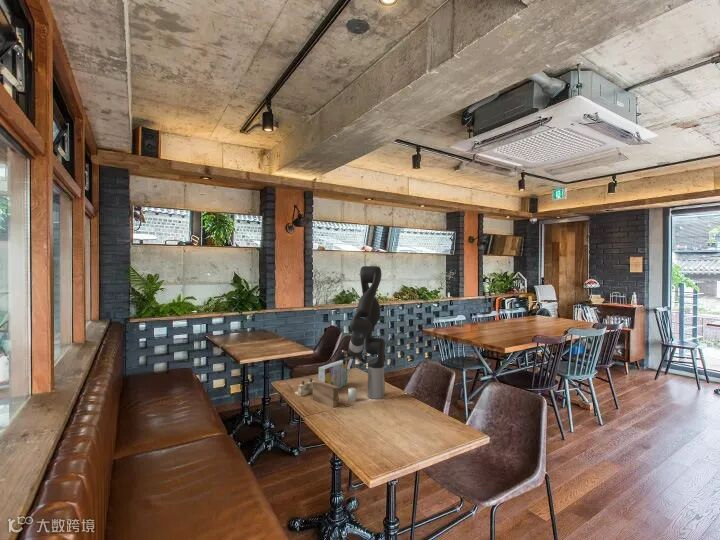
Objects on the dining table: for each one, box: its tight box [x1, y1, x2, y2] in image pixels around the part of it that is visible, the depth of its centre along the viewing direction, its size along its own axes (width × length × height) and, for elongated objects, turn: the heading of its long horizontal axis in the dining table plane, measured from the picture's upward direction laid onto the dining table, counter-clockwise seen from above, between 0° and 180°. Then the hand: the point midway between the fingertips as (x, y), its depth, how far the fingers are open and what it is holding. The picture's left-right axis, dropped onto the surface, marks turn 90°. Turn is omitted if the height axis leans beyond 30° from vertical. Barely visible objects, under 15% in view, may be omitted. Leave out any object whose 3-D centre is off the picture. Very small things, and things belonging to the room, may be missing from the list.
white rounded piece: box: [347, 387, 358, 402], centre depth 209 cm, size 5×5×6 cm
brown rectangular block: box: [312, 380, 340, 408], centre depth 205 cm, size 4×16×10 cm, turn 49°
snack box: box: [318, 359, 348, 389], centre depth 227 cm, size 21×6×15 cm, turn 144°
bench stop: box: [294, 377, 315, 397], centre depth 219 cm, size 11×6×8 cm, turn 139°
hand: (352, 364), depth 207 cm, fingers open, 8 cm apart
